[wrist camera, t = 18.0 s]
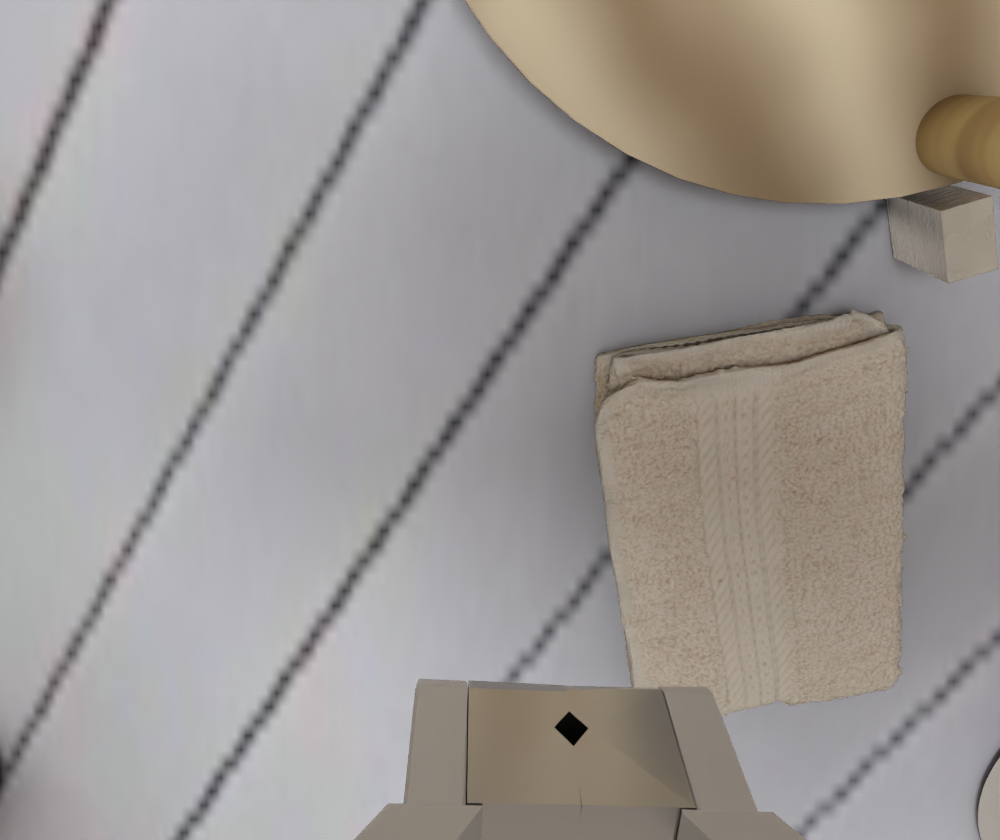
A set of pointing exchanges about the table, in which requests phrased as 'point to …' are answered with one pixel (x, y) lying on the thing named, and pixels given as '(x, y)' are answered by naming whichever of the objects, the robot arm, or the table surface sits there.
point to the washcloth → (758, 507)
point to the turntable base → (944, 232)
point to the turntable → (773, 88)
